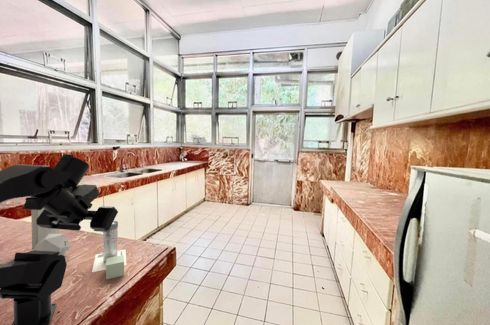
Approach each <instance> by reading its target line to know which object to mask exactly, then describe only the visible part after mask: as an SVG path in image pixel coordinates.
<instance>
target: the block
mask: <svg viewBox="0 0 490 325" xmlns="http://www.w3.org/2000/svg"><path fill="white" fill-rule="evenodd" d="M122 276H125V266H124V255H121V256H115V257H110V258H107V260H106V270H105V280H109V279H115V278H119V277H122Z"/></svg>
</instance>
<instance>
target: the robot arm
mask: <svg viewBox="0 0 490 325" xmlns="http://www.w3.org/2000/svg"><path fill="white" fill-rule="evenodd" d="M89 169H90V165H89V163H88V162H85V161H84V160H82V159H80V158H78V157H75V156H74V155H73V154H69V153H68V154H67V153H66V154H63V155H62V156H61V157H60V159H59V160H58V162H57V163H56V164H55V166H54V167H53V168H52V167H50V166H49V165H43V164H42V165H40V164H39V165H38V164H22V163H21V164H19V163H18V164H13V165H10V166H8V167H6V168H3V169H1V170H0V204H1V203H3V202H6V201H10V200H14V199H20V198H25V202H24V205H23V210H27V211H28V210H29V211H31V210H42V208H44V210H43V212H42V213H41V214H40V216H39V217H38V218H37V219H36V221H37V225H38V226H40V227H43V228H51V229H61V230H64V231H65V230H66V231H76V232H77V231H78V232H79V231H81V229H82V227H81V225H80V224H81V222H82V221H84V220H87V221H90V222H89V227H90V229H92V230H93V231H94V232H110V230H111V225H112V223H113V221H115V218H116V217H117V215H118V213H119V211H118V210H117V209H116V207H115V206H111V205H110V206H106V205H101V206H99V207H98V208H97V210H90V209H92V207H93V204H92V202H93V201H94V200H95V199H96V198H97V197H100V192H99V190H98V187H97V185H96V184H80V183H81V181H82V180H83V178H84V176H85V175H86V174H87V173H88V171H89ZM59 253H60V252H53V251H36V250H30V251H27V252H15V253H14V258H13V259H12V260H10V261H9V262H5V263H0V299H2V300H4V299H11V300H12V299H13V321H12V322H11V325H49V324H50V323H51V321H52V318H53V315H54V313H55V311H56V308H57V303H56V302H55V303H52V294H54V293H55V292H56V291H57V290H59V289H60V288H61V287H62V286H63V281H64V278H65V274H66V269H67V266H68V265H67V262H66V257H65V254H63V255H58V254H59Z"/></svg>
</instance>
